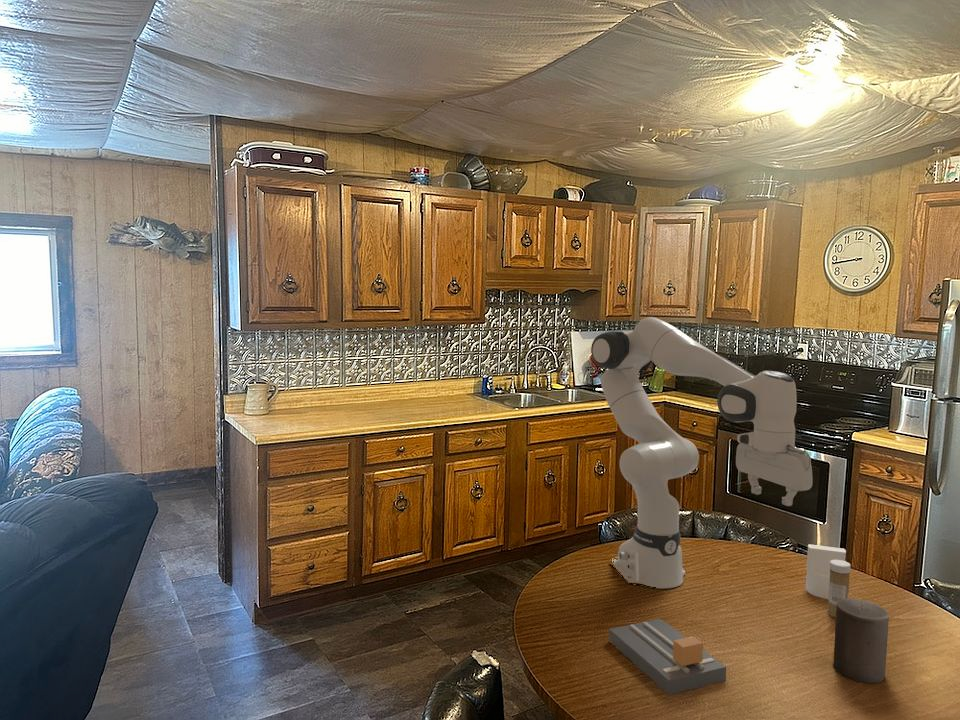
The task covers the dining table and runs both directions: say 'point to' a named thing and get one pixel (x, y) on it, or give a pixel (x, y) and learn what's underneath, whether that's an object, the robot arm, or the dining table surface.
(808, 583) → the base with upright slab
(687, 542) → the dining table surface
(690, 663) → the fader tab
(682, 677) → the fader console
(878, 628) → the pillar candle
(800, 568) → the dining table surface
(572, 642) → the dining table surface
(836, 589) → the sprinkles bottle
